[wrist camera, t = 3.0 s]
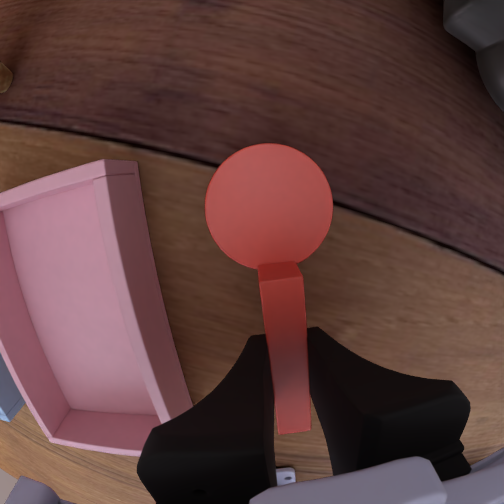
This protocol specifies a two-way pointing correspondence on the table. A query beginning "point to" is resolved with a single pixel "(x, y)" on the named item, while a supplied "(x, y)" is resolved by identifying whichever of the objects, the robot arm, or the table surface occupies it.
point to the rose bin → (87, 309)
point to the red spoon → (275, 253)
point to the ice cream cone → (5, 78)
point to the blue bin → (8, 394)
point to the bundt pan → (481, 38)
